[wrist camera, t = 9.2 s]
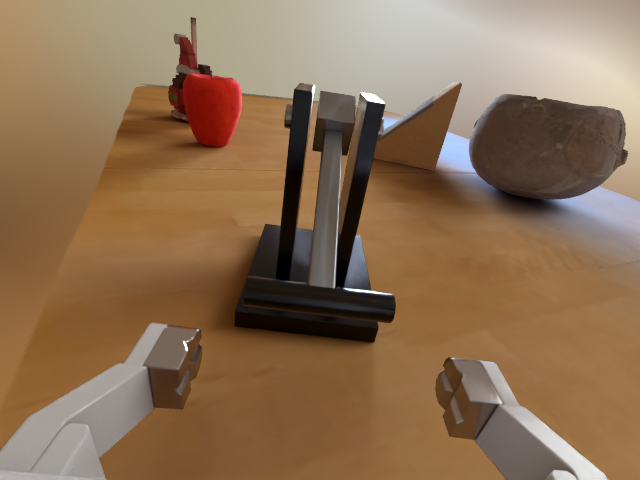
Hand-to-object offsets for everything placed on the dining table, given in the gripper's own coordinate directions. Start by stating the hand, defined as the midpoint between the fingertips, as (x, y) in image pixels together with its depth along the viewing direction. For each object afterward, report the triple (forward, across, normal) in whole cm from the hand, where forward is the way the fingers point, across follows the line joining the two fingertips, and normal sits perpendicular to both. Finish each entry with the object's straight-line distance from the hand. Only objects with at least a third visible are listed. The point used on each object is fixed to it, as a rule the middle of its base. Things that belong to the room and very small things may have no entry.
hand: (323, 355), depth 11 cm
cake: (+65, +26, +7) cm, 70 cm away
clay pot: (+47, -35, +7) cm, 59 cm away
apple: (+49, +18, +7) cm, 52 cm away
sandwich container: (+58, -15, +7) cm, 61 cm away
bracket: (+14, 0, +7) cm, 15 cm away
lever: (+9, 0, -2) cm, 9 cm away
